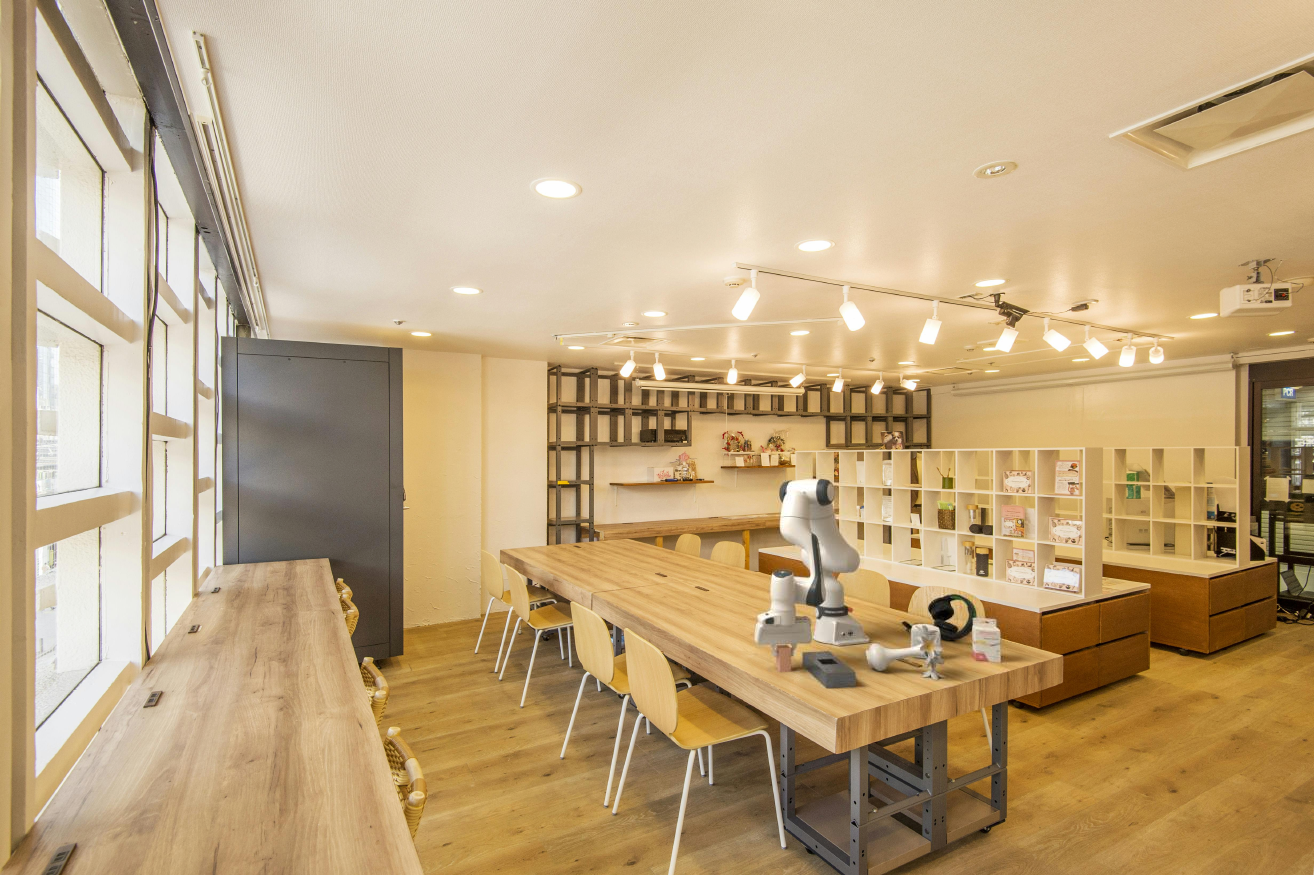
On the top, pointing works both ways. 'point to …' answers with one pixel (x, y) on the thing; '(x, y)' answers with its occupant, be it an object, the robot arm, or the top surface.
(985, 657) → the ink cartridge box
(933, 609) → the headset
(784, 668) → the terracotta peg
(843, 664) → the rail
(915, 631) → the photo printer
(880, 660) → the flower vase
